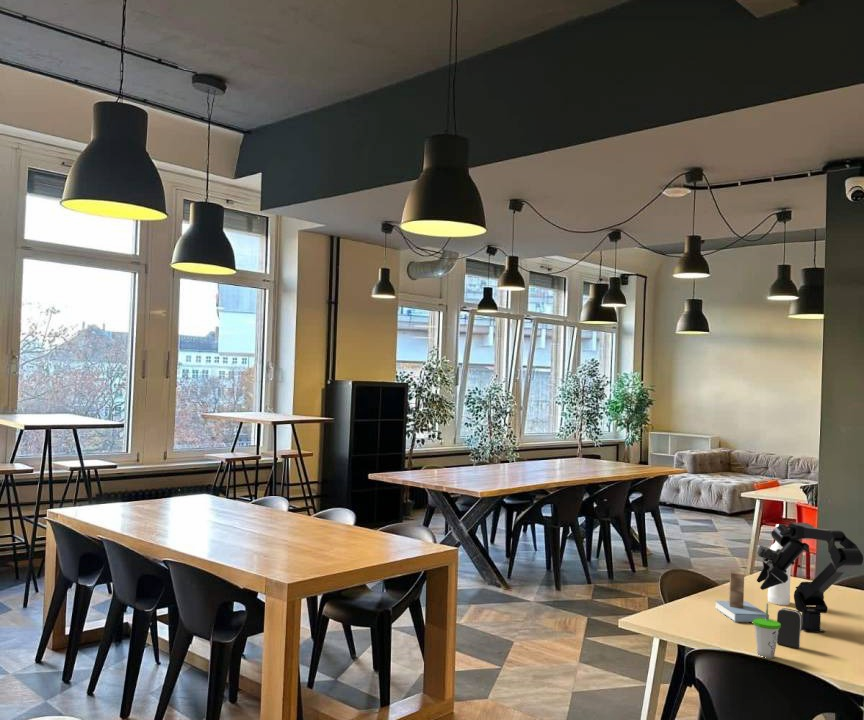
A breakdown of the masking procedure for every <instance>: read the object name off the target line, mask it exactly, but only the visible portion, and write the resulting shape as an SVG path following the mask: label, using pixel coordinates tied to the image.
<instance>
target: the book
mask: <svg viewBox="0 0 864 720" xmlns="http://www.w3.org/2000/svg"><path fill="white" fill-rule="evenodd" d="M715 608H716V609H717V611H718V610H719V611H720V612H719V611H718V612H719V613H721V614H722V613H723V614H722V615H724V616H725V615H726V616H727V617H726V616H725V617H726V618H728V617H729V618H730V619H729V618H728V619H729V620H731V619H732V620H733V621H732V620H731V621H732V622H733V623H735V622H753V620H754V619H757V618H763V619H766V611H765V612H764V611H763V610H761V609H760V608H759V607H757V606H755V605H753V604H751V603H750V602H748V601H744V600H743V608H737V607H730V605H729V600H715ZM716 609H715V610H716ZM768 619H770V615H769V614H768Z"/></svg>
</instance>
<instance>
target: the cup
mask: <svg viewBox="0 0 864 720" xmlns="http://www.w3.org/2000/svg"><path fill="white" fill-rule="evenodd" d="M765 613H766V619H763V618H757V619H754V620H753V623H752V624H753V625H754V634H755V644H756V653H757V654H758V655H760V656H763V657H766V658H771V659H772V660H773V659H774V658H775V653H776V649H777V638H778V632H779V628H780V627H781V624H780V623H779V622H777V620H774V619H770V618H769V619H768V615H769V603H765ZM757 654H756V655H757ZM758 655H757V656H758ZM766 658H765V659H766ZM771 659H770V660H771Z"/></svg>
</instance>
